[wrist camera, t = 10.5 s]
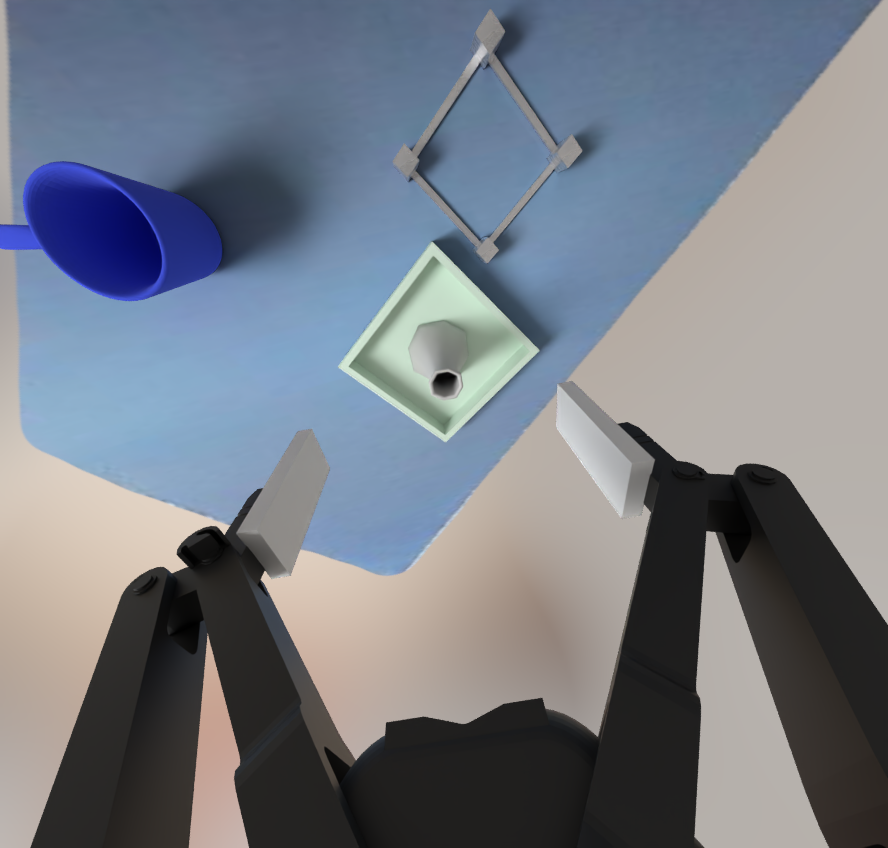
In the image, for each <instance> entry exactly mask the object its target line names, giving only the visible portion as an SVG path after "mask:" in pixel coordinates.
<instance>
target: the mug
mask: <svg viewBox="0 0 888 848" xmlns="http://www.w3.org/2000/svg"><path fill="white" fill-rule="evenodd" d="M23 204H24V211H25V215H26V219H27V222H28V224H29V225H1V224H0V248H1V249H10V250H27V249H42V250H43V251H44V252H45V254H46V255H47V256H48V257H49V258H50V259H51V260H52V262H53V263H54V264H55V265H56V266H57V267H58V268H59V269H60V270H62V271H63V272H64V273H65V274H66V275H68V276H69V277H70V278H71V279H73V280H74V281H76V282H77V283H79V284H80V285H82V286H83V287H85V288H87V289H89V290H91V291H93V292H95V293H97V294H99V295H102V296H105V297H108V298H112V299H116V300H122V301H138V300H143V299H147V298H149V297H152V296H155V295H158V294H161V293H163V292H166V291H169V290H172V289H174V288H177V287H180V286H183V285H186V284H188V283H191V282H194V281H197V280H199V279H202V278H205V277H207V276H209V275H210V274H212V273H213V272H214V271H215V270H216V269H217V267H218V266H219V264H220V261H221V258H222V243H221V239H220V236H219V233H218V231H217V229H216V227H215V225H214V224H213V222H212V221H211V219H210V218H209V217H208V216H207V215H206V214H205V213H204V212H203V211H202V210H201V209H200V208H199V207H198V206H197V205H195V204H194V203H192V202H191V201H189V200H188V199H186V198H184V197H182V196H180V195H177V194H175V193H172V192H169V191H166V190H163V189H159V188H156V187H153V186H150V185H147V184H144V183H141V182H137V181H134V180H131V179H128V178H125V177H122V176H119V175H115V174H112V173H109V172H106V171H103V170H100V169H96V168H93V167H90V166H87V165H84V164H80V163H74V162H64V161H62V162H53V163H49V164H46V165H43V166H41V167H39V168H38V169H36V170H35V171H34V172H33V173H32V174H31V175H30V177H29V178H28V180H27V182H26V185H25V188H24V194H23Z"/></svg>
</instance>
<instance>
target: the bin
mask: <svg viewBox="0 0 888 848" xmlns="http://www.w3.org/2000/svg"><path fill="white" fill-rule="evenodd" d="M443 320H444V321H446V322H448V323H450V324H452V325H454V326H456V327H457V328H459V329H461V330H463V331H465V332H466V338H467V345H468V352H469V356H468V358H467V360H466V362H465V363H464V365H463V367H462V369H461V371H460V373H461V376H462V382H463V388H462V390H461V391H460V393H459V395H458V397H457V398H454V399H449V400H444V401H443V400H441V399H439V398H436V397H434V396H432V395H431V391H430V387H429V379H428V378H426V377H424V376H423V375H421V374H419V373H416V372H415V371H413V366H412V362H411V358H410V354H409V350H408V347H409V345H410V343H411V341H412V338H413V336H414V334H415V332H416V330H417V327H418V325H423V324H428V323H433V322H438V321H443ZM539 351H540V350H539V349H538V348H537V347H536V346H535V345H534V344H533V343H532V342H531V341H530V340H529V339H528V338H527V337H526V336H525V335H524V334H523V333H522V332H521V331H520V330H519V329H518V328H517V327H516V326H515V325H514V324H513V323H512V322H511V321H510V320H509V319H508V318H507V317H506V316H505V315H504V314H503V313H502V312H501V311H500V310H499V309H498V308H497V307H496V306H495V305H494V304H493V303H492V302H491V301H490V300H489V299H488V298H487V297H486V296H485V295H484V294H483V292H482V291H481V290H480V289H479V288H478V287H477V286H476V285H475V284H474V283H473V282H472V281H471V280H470V279H469V278H468V277H467V276H466V275H465V274H464V273H463V272H462V271H461V270H460V269H459V268H458V267H457V266H456V265H455V264H454V263H453V262H452V261H451V260H450V259H449V258H448V257H447V256H446V255H445V254H444V253H443V252H442V251H441V250H440V249H439V248H438V247H437V246H436V245H435V244H434V243H433V242H430V243H429V245H428V246H427V247H426V249H425V250H424V251H423V253H422V254H421V255H420V257H419V258H418V259H417V261H416V262H415V263H414V265H413V266H412V267H411V269H410V270H409V271H408V273H407V274H406V275H405V277H404V278H403V279H402V281H401V282H400V283H399V285H398V286H397V287H396V289H395V290H394V291H393V293H392V294H391V295H390V297H389V298H388V299H387V301H386V302H385V303H384V305H383V306H382V307H381V309H380V310H379V311H378V313H377V314H376V315H375V317H374V318H373V319H372V321H371V322H370V323H369V325H368V326H367V327H366V329H365V330H364V331H363V333H362V334H361V335H360V337H359V338H358V339H357V341H356V342H355V343H354V345H353V346H352V347H351V349H350V350H349V351H348V353H347V354H346V355H345V357H344V358H343V360H342V361H341V363H340V365H339V366H338V368H340V369H341V370H343V371H344V372H346V373H347V374H348V375H350V376H351V377H353V378H354V379H356V380H357V381H358V382H360V383H361V384H363V385H364V386H366V387H367V388H369V389H370V390H371V391H373V392H374V393H376V394H377V395H379V396H380V397H381V398H383V399H384V400H386V401H387V402H389V403H390V404H391V405H393V406H394V407H396V408H397V409H399V410H400V411H401V412H403V413H404V414H406V415H407V416H409V417H410V418H411V419H413V420H414V421H416V422H417V423H419V424H420V425H422V426H423V427H424V428H426V429H427V430H429V431H430V432H432V433H433V434H434V435H436V436H437V437H439V438H440V439H442V440H443V441H444V442H447V441H448V440H449V439H450V438H451V437H452V436H453V435H454V434H455V433H456V432H457V431H458V430H459V429H460V428H461V427H462V426H463V425H464V424H465V423H466V422H467V421H468V420H469V419H470V418H471V417H472V416H473V415H474V414H475V413H476V412H477V411H478V410H479V409H480V408H481V407H482V406H483V405H484V404H486V403H487V402H488V401H489V400H490V399H491V398H492V397H493V396H494V395H495V394H496V393H497V392H498V391H499V390H500V389H501V388H502V387H503V386H504V385H505V384H506V383H507V382H508V381H509V380H510V379H511V378H512V377H513V376H514V375H515V374H516V373H517V372H518V371H519V370H520V369H521V368H522V367H523V366H524V365H525V364H526V363H527V362H528V361H530V360H531V359H532V358H533V357H534V356H535V355H536V354H537V353H538V352H539Z"/></svg>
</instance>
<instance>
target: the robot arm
mask: <svg viewBox="0 0 888 848" xmlns="http://www.w3.org/2000/svg"><path fill="white" fill-rule="evenodd" d="M556 428H557V429H558V431H559V432H560V434H561V435H562V436H563V438H564V439H565V440H566V442H567V443H568V445H569V446H570V448H571V449H572V450H573V452H574V453H575V454H576V456H577V457H578V459H579V460H580V461H581V463H582V464H583V466H584V467H585V468H586V470H587V471H588V473H589V474H590V475H591V477H592V478H593V480H594V481H595V482H596V484H597V485H598V487H599V488H600V489H601V491H602V492H603V494H604V495H605V496H606V498H607V499H608V501H609V502H610V503H611V505H612V506H613V508H614V509H615V510H616V512H617V513H618V514H619V516H620V517H621V518H622V519H623V518H629V517H635V516H640V515H642V511H643V507H644V504H645V506H646V507H647V508H648V509H649V510H650V512H651V515H650V519H649V522H648V526H647V530H646V536H645V540H644V544H643V549H642V553H641V557H640V562H639V566H638V570H637V574H636V578H635V583H634V587H633V591H632V596H631V600H630V604H629V609H628V613H627V617H626V621H625V626H624V630H623V634H622V639H621V643H620V647H619V652H618V656H617V660H616V664H615V669H614V673H613V677H612V681H611V686H610V691H609V694H608V698H607V702H606V706H605V710H604V714H603V718H602V722H601V727H600V731H599V736H598V737H597V736H596V735H595V734H594V733H592V732H591V731H590V730H589V729H588V728H586V727H585V726H584V725H582V724H581V723H579V722H578V721H576V720H575V719H573V718H571V717H569V716H567V715H565V714H562V713H559V712H557V711H554V710H549V709H545V706H544V702H543V699H542V698H538V699H532V700H525V701H519V702H513V703H507V704H503V705H501V706H499V707H498V708H495V709H494V710H492V711H490V712H488V713H486V714H484V715H482V716H480V717H479V718H477V719H475V720H473V721H471V722H469V723H467V724H458V723H454V722H449V721H444V720H439V719H433V718H428V717H419V718H412V719H406V720H400V721H393V722H387V723H386V732H385V736H383V737H381V738H380V739H379V740H377V741H376V742H375V743H373V744H372V745H371V746H370V747H369V748H368V749H367V750H366V751H365V752H363V753H362V754H361V756H360V757H359V758H358V759H357V760H355V758H354V757H353V755H352V754H351V752H350V751H349V749H348V748H347V746H346V745H345V743H344V742H343V740H342V738H341V737H340V735H339V733H338V731H337V729H336V727H335V725H334V723H333V721H332V719H331V717H330V715H329V713H328V711H327V709H326V707H325V705H324V703H323V701H322V699H321V697H320V695H319V693H318V691H317V689H316V687H315V685H314V683H313V681H312V679H311V677H310V675H309V673H308V671H307V669H306V667H305V665H304V663H303V661H302V659H301V657H300V655H299V653H298V651H297V649H296V647H295V645H294V643H293V641H292V639H291V637H290V635H289V633H288V631H287V629H286V627H285V625H284V623H283V621H282V619H281V617H280V615H279V613H278V611H277V609H276V607H275V605H274V603H273V601H272V599H271V597H270V595H269V593H268V591H267V589H266V587H265V585H264V583H263V582H262V581H261V580H260V579H261V577H262V575H263V573H264V571H266V572H267V574H268V575H269V576H270V577H271V579H274V578H280V577H285V576H291V573H292V570H293V567H294V565H295V562H296V559H297V556H298V554H299V551H300V549H301V546H302V543H303V540H304V538H305V535H306V532H307V530H308V527H309V524H310V522H311V519H312V516H313V514H314V511H315V508H316V505H317V503H318V500H319V497H320V495H321V492H322V489H323V487H324V484H325V481H326V478H327V476H328V473H329V470H330V467H329V465H328V463H327V461H326V458H325V456H324V454H323V452H322V450H321V448H320V446H319V443H318V441H317V439H316V437H315V435H314V433H313V430H312V429H308V430H303V431H298V432H297V433H296V435H295V437H294V438H293V440H292V442H291V443H290V445H289V447H288V448H287V450H286V452H285V453H284V455H283V456H282V458H281V460H280V461H279V463H278V465H277V466H276V468H275V470H274V471H273V473H272V475H271V476H270V478H269V480H268V481H267V483H266V485H265V486H264V488H261V489H257V490H256V491H255V492H254V493H253V494H252V495H251V496H250V497H249V498H248V499H247V501H246V502H245V504H244V505H243V507H242V509H241V510H240V512H239V513H238V517H236V518H235V519H234V521H233V523H232V524H231V526H230V527H229V529H228V530H227V532H226V534H225V535H224V534H223V533H222V532H221V531H220V529H219V528H218V527H216V526H210V527H205V528H202V529H201V530H198V531H196V532H195V533H193V534H192V535H190V536H189V537H188V538H186V539H185V540H184V541H183V542H182V543H181V545H180V546H179V548H178V549H177V555H178V557H179V558H180V559H182V561H183V562H184V563H185V564H186V565H187V566H188V567H187V568H184V569H182V570H179V571H177V572H175V573H171V572H170V571H168V570H167V569H166V568H164V567H157V568H154V569H151V570H149V571H147V572H145V573H143V574H142V575H140V576H139V577H138V578H136V579H135V580H134V581H133V582H131V584H130V585H129V586H128V587H127V588H126V589H125V591H124V592H123V594H122V596H121V599H120V601H119V604H118V607H117V610H116V612H115V615H114V618H113V621H112V623H111V626H110V629H109V632H108V635H107V637H106V640H105V643H104V646H103V648H102V651H101V654H100V657H99V660H98V663H97V665H96V668H95V671H94V673H93V676H92V679H91V682H90V684H89V687H88V690H87V693H86V695H85V698H84V701H83V704H82V707H81V709H80V712H79V715H78V718H77V721H76V723H75V726H74V729H73V731H72V734H71V737H70V740H69V742H68V745H67V748H66V751H65V754H64V756H63V759H62V762H61V765H60V767H59V771H58V773H57V776H56V779H55V781H54V784H53V787H52V790H51V792H50V795H49V798H48V801H47V804H46V806H45V809H44V812H43V815H42V817H41V820H40V823H39V826H38V828H37V831H36V834H35V837H34V839H33V842H32V845H31V848H189V837H190V825H191V815H192V803H193V792H194V781H195V769H196V757H197V746H198V735H199V724H200V712H201V701H202V690H203V679H204V667H205V655H206V645H207V633H208V636H209V640H210V644H211V647H212V651H213V655H214V659H215V663H216V667H217V670H218V674H219V678H220V682H221V686H222V690H223V693H224V697H225V701H226V705H227V709H228V713H229V716H230V720H231V724H232V728H233V732H234V736H235V739H236V743H237V747H238V751H239V755H240V766H239V767H238V768H237V769H236V771H235V776H234V780H235V788H236V793H237V798H238V802H239V806H240V810H241V815H242V819H243V823H244V827H245V832H246V836H247V839H248V844H249V848H704V847H703V846H702V845H701V844H700V843H699V841H698V840H697V839H696V838H695V837H694V834H695V816H696V797H697V779H698V759H699V742H700V723H701V703H700V698H699V696H698V694H697V692H696V676H697V662H698V645H699V631H700V616H701V602H702V587H703V572H704V557H705V543H706V542H705V541H706V531H711V532H716V535H717V537H718V540H719V543H720V546H721V549H722V552H723V555H724V558H725V561H726V563H727V566H728V569H729V572H730V575H731V578H732V581H733V583H734V587H735V590H736V592H737V595H738V598H739V601H740V604H741V607H742V610H743V613H744V616H745V618H746V621H747V624H748V627H749V630H750V633H751V635H752V639H753V641H754V644H755V647H756V650H757V653H758V656H759V659H760V662H761V664H762V668H763V671H764V673H765V676H766V679H767V682H768V685H769V688H770V691H771V694H772V696H773V699H774V702H775V705H776V708H777V711H778V714H779V717H780V720H781V723H782V725H783V728H784V731H785V734H786V737H787V740H788V743H789V746H790V749H791V751H792V754H793V757H794V760H795V763H796V766H797V769H798V772H799V775H800V777H801V780H802V783H803V786H804V789H805V792H806V794H807V797H808V799H809V802H810V804H811V807H812V809H813V812H814V815H815V817H816V820H817V822H818V825H819V827H820V829H821V831H822V833H823V835H824V838H825V840H826V842H827V844H828V846H829V848H888V625H887V623H886V622H885V620H884V619H883V617H882V616H881V614H880V613H879V611H878V610H877V608H876V607H875V606H874V604H873V602H872V601H871V599H870V598H869V596H868V595H867V594H866V592H865V590H864V589H863V587H862V586H861V584H860V583H859V582H858V580H857V579H856V577H855V576H854V574H853V573H852V571H851V570H850V568H849V567H848V565H847V564H846V562H845V561H844V559H843V558H842V556H841V555H840V553H839V552H838V550H837V549H836V547H835V546H834V545H833V543H832V542H831V540H830V538H829V537H828V536H827V534H826V533H825V531H824V530H823V528H822V527H821V525H820V524H819V522H818V521H817V519H816V518H815V516H814V515H813V513H812V512H811V510H810V509H809V507H808V506H807V504H806V503H805V501H804V500H803V498H802V497H801V495H800V494H799V493H798V491H797V490H796V488H795V486H794V485H793V484H792V482H791V481H790V479H789V478H788V477H787V476H786V475H785V474H783V473H781V472H780V471H778V470H776V469H774V468H771V467H768V466H765V465H759V464H743V465H740V466H738V467H737V468H736V470H735V472H734V474H733V475H724V474H708V473H707V472H706V471H705V470H704V469H702V468H701V467H699V466H697V465H694V464H692V463H688V462H682V461H677V460H676V459H674V458H673V457H672V456H671V455H670V454H669V453H667V452H666V451H665V450H664V449H663V448H662V447H661V446H660V445H658V444H657V443H656V442H654V441H653V439H651V438H650V437H649V436H647V434H646V433H645V432H643V431H642V430H641V429H640V428H639V427H637V426H634V425H632V424H630V423H628V422H625V423H620V424H617V423H616V422H615V421H614V420H613V419H611V418H610V417H609V416H608V415H607V414H606V413H605V412H604V411H603V410H602V409H601V408H600V407H599V406H598V405H597V404H596V403H595V402H594V401H593V400H592V399H590V398H589V397H588V396H587V395H586V394H585V393H584V392H583V391H582V390H581V389H580V388H579V387H578V386H577V385H576V384H575V383H574V382H573V381H570V382H564V383H559V384H558V385H557V423H556Z"/></svg>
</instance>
